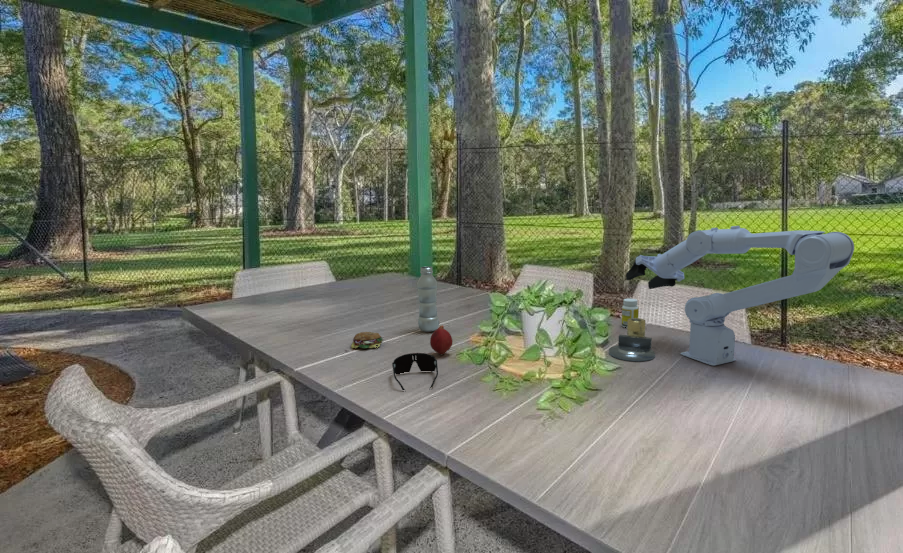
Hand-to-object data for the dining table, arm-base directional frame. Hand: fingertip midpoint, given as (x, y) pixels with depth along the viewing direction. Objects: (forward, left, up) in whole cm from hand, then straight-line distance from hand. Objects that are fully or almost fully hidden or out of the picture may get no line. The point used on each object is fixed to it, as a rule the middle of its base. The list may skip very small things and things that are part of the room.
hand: (638, 281), depth 136 cm
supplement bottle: (+9, -6, -16) cm, 20 cm away
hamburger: (+29, +72, -17) cm, 79 cm away
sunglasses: (-2, +67, -17) cm, 69 cm away
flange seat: (-11, +12, -16) cm, 23 cm away
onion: (+12, +55, -16) cm, 58 cm away
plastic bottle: (+35, +50, -16) cm, 63 cm away
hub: (-3, +3, -16) cm, 17 cm away
